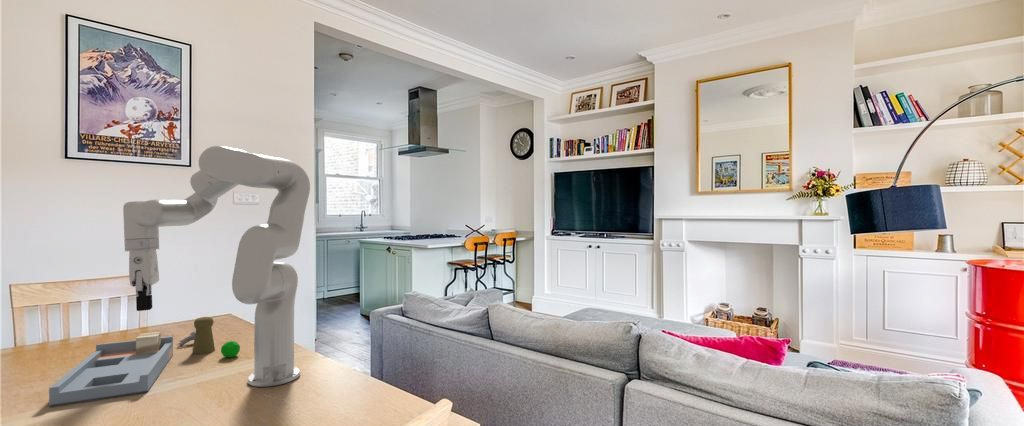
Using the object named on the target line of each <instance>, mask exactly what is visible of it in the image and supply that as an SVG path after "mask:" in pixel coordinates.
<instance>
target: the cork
mask: <svg viewBox="0 0 1024 426" xmlns="http://www.w3.org/2000/svg"><path fill="white" fill-rule="evenodd" d="M193 325H194V326H193V327H194V328H195V331H196V333H195V339H194V340H193V347H192V355H207V354H211V353H213V352H215V351H216V348H215V347H216V346H215V342H214V335H213V329H212V327H213V325H214V319H213V317H211V316H202V317H201V316H200V317H199V318H196V319H195V320H194V322H193Z"/></svg>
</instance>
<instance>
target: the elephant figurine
mask: <svg viewBox="0 0 1024 426" xmlns="http://www.w3.org/2000/svg"><path fill="white" fill-rule="evenodd" d="M195 333H196V330H194V331H192V332H191V333H190V335H188V336H186V337H185V338H183V339H180V340H178V343H177V345H178V346H179V347H183V346H184V345H185V344H187V343H189V342H191V341H194V339H195Z"/></svg>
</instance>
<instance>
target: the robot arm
mask: <svg viewBox="0 0 1024 426" xmlns="http://www.w3.org/2000/svg"><path fill="white" fill-rule="evenodd" d="M198 167H199V170H198V171H196V172H195V173H194V174H192V175H191V176H190V178H189V179H190V180H189V183H190V186H191V188H192V190H193V191H194V193H193V194H191V195H189V196H188V197H186V198H184V199H150V200H145V201H143V200H141V201H140V200H135V201H128V202H125V203H124V204H123V208H122V213H123V215H122V216H123V235H124V236H123V237H124V238H123V239H124V242H123V243H124V252H128V257H129V258H128V278H129V279H128V280H129V285H130V286H131V287H133V288H134V287H135V302H136V304H135V305H136V306H135V307H136V311H137V312H142V311H151V310H152V309H153V295H152V288H153V287H152V286H153V285H154V284H157V283H158V282H159V281H160V273H159V262H158V254H157V250H160V231H159V228H160V227H177V226H179V227H180V226H188V225H191V224H194V223H196V222H197V221H199V220H200V219H202V218H204V217H206V216H207V215H209V214H210V213H211V212H212V211H213V210H214V209H215V207H216V205H217V204H218V200H219V198H221V196H223V195H225V194H227V192H230V191H231V190H233V189H234V188H236V187H237V186H239V185H241V186H245V187H250V188H257V189H269V190H270V189H271V190H272V189H273V190H277V191H278V192H277V194H276V196H275V197H274V198H273V200H272V202H271V205H270V207H269V214H268V218H267V222H266V223H264V224H263V223H262V224H256V225H253V226H251V227H249V228H248V229H247V230H246V231H245V232H244V233H243V235H242V236H241V237H240V240H239V243H238V246H237V253H236V257H235V263H234V269H233V274H232V279H231V280H232V281H231V288H232V293H233V297H235V298H236V300H237V301H238V302H240V303H242V304H245V305H256V307H255V312H254V327H253V329H254V334H253V335H254V339H253V340H254V343H253V345H254V346H253V347H254V349H253V350H254V354H253V355H254V357H253V358H254V360H253V363H254V367H253V368H254V369H253V371H254V372H252V373H251V374H249V376H248V377H247V383H248V385H250V386H252V387H259V388H260V387H267V388H268V387H273V386H274V387H275V386H279V385H283V384H287V383H290V382H293V381H294V380H296V379H297V378H299V377H300V375H301V370H300V368H299V367H296V366H295V302H296V301H295V300H296V295H297V290H298V283H299V281H298V278H299V277H298V273H297V270H296V269H295V267H293V266H292V265H291V264H289V263H287V262H284V261H277V260H282V259H286V258H290V257H291V256H293V255H294V254H296V253H297V251H298V249H299V245H300V243H301V242H300V241H301V237H302V236H301V235H302V233H303V232H302V231H303V227H304V221H305V212H306V208H307V204H308V201H309V196H310V192H311V182H310V178H309V176H308V174H307V173H306V170H304V168H303V167H301V166H300V165H299V164H297V163H296V162H294V161H292V160H290V159H286V158H282V157H275V156H269V155H264V154H257V153H252V152H248V151H246V150H244V149H240V148H235V147H229V146H223V145H212V146H210V147H207V148H206V149H204V151H202V152H201V154H200V156H199V158H198Z"/></svg>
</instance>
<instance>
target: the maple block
mask: <svg viewBox="0 0 1024 426" xmlns="http://www.w3.org/2000/svg"><path fill="white" fill-rule="evenodd" d="M161 337H162V331H157V332H153V331H152V332H144V333H139V334H138V335H137V336H136V337H135V340H136V355H140V354H149V353H157V352H158V351H159V350H160V349H161Z"/></svg>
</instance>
